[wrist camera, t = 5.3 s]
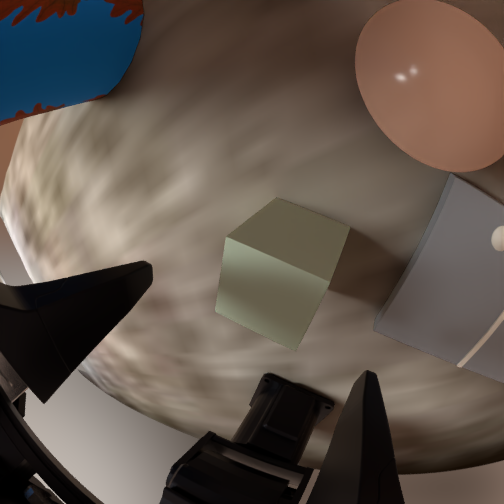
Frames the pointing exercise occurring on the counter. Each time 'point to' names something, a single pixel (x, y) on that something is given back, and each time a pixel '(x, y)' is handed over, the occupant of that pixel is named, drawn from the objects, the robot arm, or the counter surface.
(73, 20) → the thermos
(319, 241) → the pale green block
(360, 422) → the robot arm
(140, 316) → the counter surface
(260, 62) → the counter surface
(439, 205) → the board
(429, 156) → the glossy pink ovoid
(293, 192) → the counter surface
